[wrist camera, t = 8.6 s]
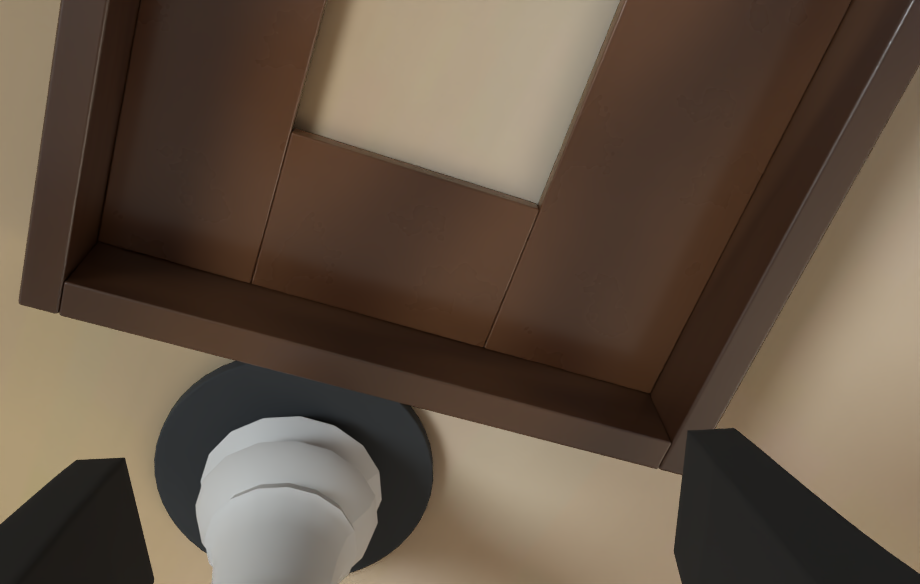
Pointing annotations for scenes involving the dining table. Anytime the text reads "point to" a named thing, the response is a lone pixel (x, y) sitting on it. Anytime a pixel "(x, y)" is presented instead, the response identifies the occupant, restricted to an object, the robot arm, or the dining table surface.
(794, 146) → the tray
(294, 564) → the rook chess piece
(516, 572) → the dining table surface
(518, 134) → the dining table surface
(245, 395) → the coaster
